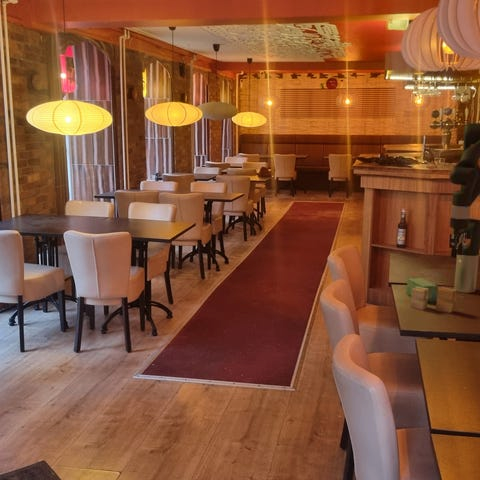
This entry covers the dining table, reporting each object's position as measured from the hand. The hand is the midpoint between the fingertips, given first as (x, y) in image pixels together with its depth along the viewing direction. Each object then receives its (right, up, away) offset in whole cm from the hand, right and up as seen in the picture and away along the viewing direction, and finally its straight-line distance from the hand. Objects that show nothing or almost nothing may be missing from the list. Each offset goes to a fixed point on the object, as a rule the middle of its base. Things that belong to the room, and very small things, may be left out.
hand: (456, 256), depth 252 cm
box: (-10, -19, +15) cm, 26 cm away
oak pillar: (-5, -22, -2) cm, 23 cm away
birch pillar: (-15, -21, +2) cm, 26 cm away
